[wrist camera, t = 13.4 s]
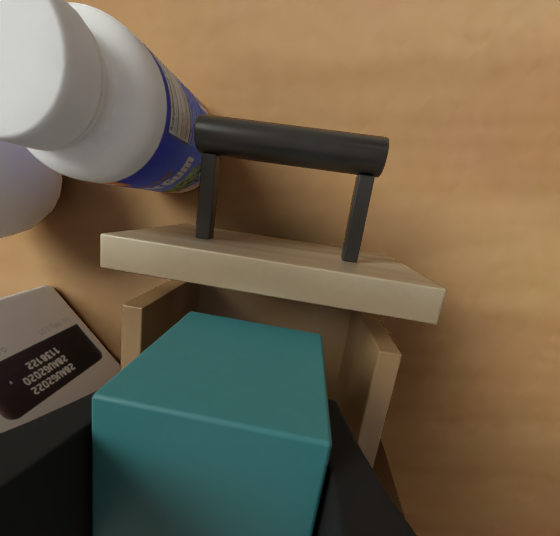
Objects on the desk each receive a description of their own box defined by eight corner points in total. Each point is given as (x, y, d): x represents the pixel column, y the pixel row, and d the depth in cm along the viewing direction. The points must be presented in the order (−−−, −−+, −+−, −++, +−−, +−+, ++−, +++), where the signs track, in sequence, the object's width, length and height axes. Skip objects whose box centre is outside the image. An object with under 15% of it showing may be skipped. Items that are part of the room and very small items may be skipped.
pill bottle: (147, 203, 17) (-56, 194, 8) (118, 107, 16) (-156, -38, 7) (232, 181, 16) (124, 142, 7) (208, 80, 15) (42, -130, 6)
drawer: (192, 135, 15) (100, 78, 8) (408, 164, 14) (494, 125, 8) (172, 423, 19) (98, 538, 12) (341, 459, 18) (358, 601, 12)
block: (322, 333, 9) (333, 444, 5) (300, 447, 10) (294, 625, 6) (190, 309, 10) (88, 394, 5) (181, 422, 11) (90, 574, 6)
